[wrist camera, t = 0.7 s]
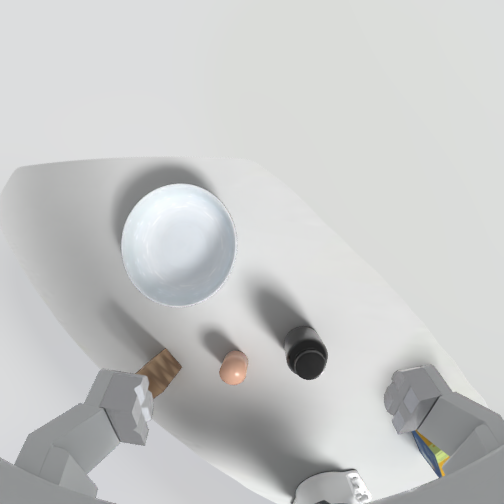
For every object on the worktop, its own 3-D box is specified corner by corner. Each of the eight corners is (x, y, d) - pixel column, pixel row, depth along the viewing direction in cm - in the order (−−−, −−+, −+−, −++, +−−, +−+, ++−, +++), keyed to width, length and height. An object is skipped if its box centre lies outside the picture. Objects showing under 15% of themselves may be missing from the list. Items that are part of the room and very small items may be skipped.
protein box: (441, 393, 52) (476, 421, 36) (452, 430, 51) (482, 459, 36) (405, 419, 52) (434, 455, 36) (420, 454, 51) (445, 487, 36)
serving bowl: (258, 214, 54) (257, 208, 47) (215, 318, 54) (208, 327, 47) (160, 176, 55) (147, 167, 48) (122, 274, 55) (105, 277, 48)
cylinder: (253, 363, 54) (251, 375, 48) (234, 376, 54) (231, 389, 48) (237, 346, 54) (233, 356, 48) (219, 359, 54) (214, 371, 48)
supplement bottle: (276, 338, 54) (279, 360, 42) (308, 318, 53) (318, 335, 41) (295, 365, 53) (302, 393, 41) (326, 347, 53) (340, 370, 41)
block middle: (176, 374, 51) (170, 382, 47) (159, 387, 51) (152, 395, 47) (159, 354, 51) (151, 361, 47) (142, 367, 51) (133, 374, 47)
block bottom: (182, 367, 55) (176, 374, 51) (165, 379, 55) (159, 387, 51) (165, 348, 55) (159, 354, 51) (149, 360, 55) (142, 367, 51)
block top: (170, 382, 47) (162, 391, 43) (152, 395, 47) (144, 405, 43) (151, 361, 47) (142, 368, 43) (133, 374, 47) (124, 382, 43)
